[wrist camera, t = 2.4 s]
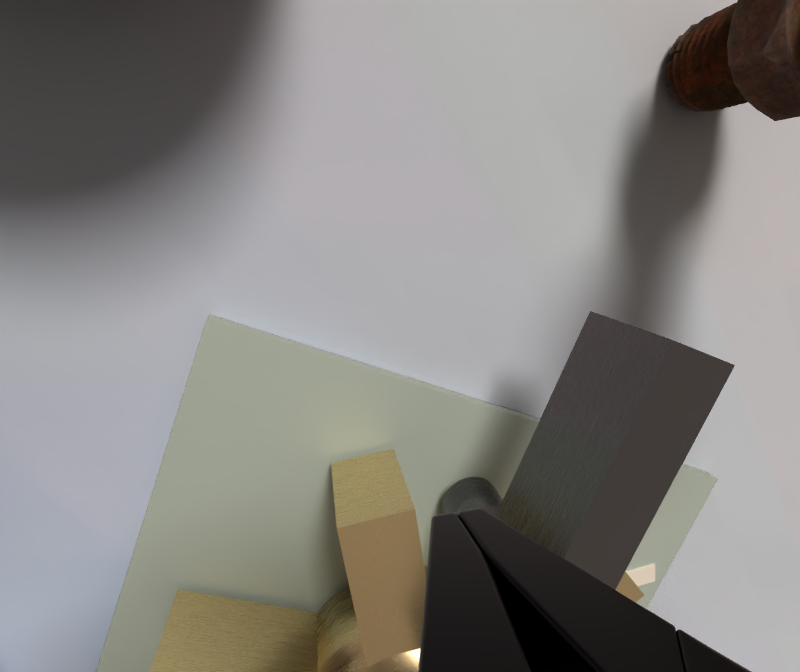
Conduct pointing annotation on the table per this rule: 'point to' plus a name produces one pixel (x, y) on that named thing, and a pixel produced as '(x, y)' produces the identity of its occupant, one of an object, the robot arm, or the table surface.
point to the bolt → (741, 59)
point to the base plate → (313, 479)
